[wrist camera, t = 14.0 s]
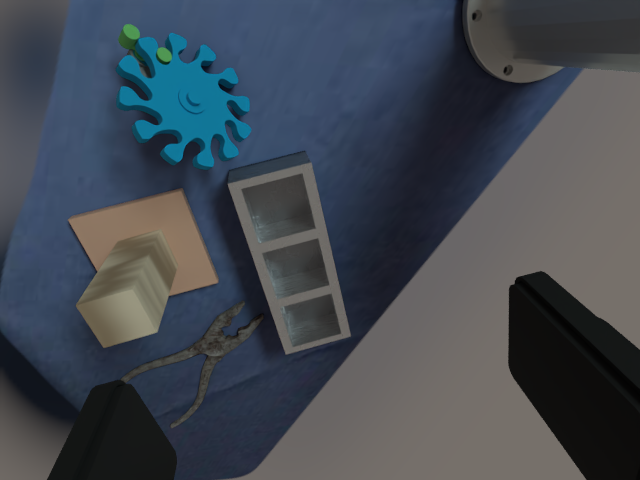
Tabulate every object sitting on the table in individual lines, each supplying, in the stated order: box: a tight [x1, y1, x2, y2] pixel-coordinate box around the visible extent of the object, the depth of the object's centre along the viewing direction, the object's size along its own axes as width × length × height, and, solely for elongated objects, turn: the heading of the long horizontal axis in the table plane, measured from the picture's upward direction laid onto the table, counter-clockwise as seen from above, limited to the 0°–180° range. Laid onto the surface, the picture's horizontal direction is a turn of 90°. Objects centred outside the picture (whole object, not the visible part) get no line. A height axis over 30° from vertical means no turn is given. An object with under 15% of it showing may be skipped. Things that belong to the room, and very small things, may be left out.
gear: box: [116, 24, 251, 170], centre depth 30 cm, size 11×6×10 cm
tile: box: [68, 188, 219, 296], centre depth 37 cm, size 10×10×1 cm
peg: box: [76, 229, 178, 348], centre depth 33 cm, size 4×4×10 cm
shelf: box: [228, 151, 351, 354], centre depth 38 cm, size 7×19×4 cm, turn 12°
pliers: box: [120, 301, 264, 428], centre depth 44 cm, size 10×1×20 cm
